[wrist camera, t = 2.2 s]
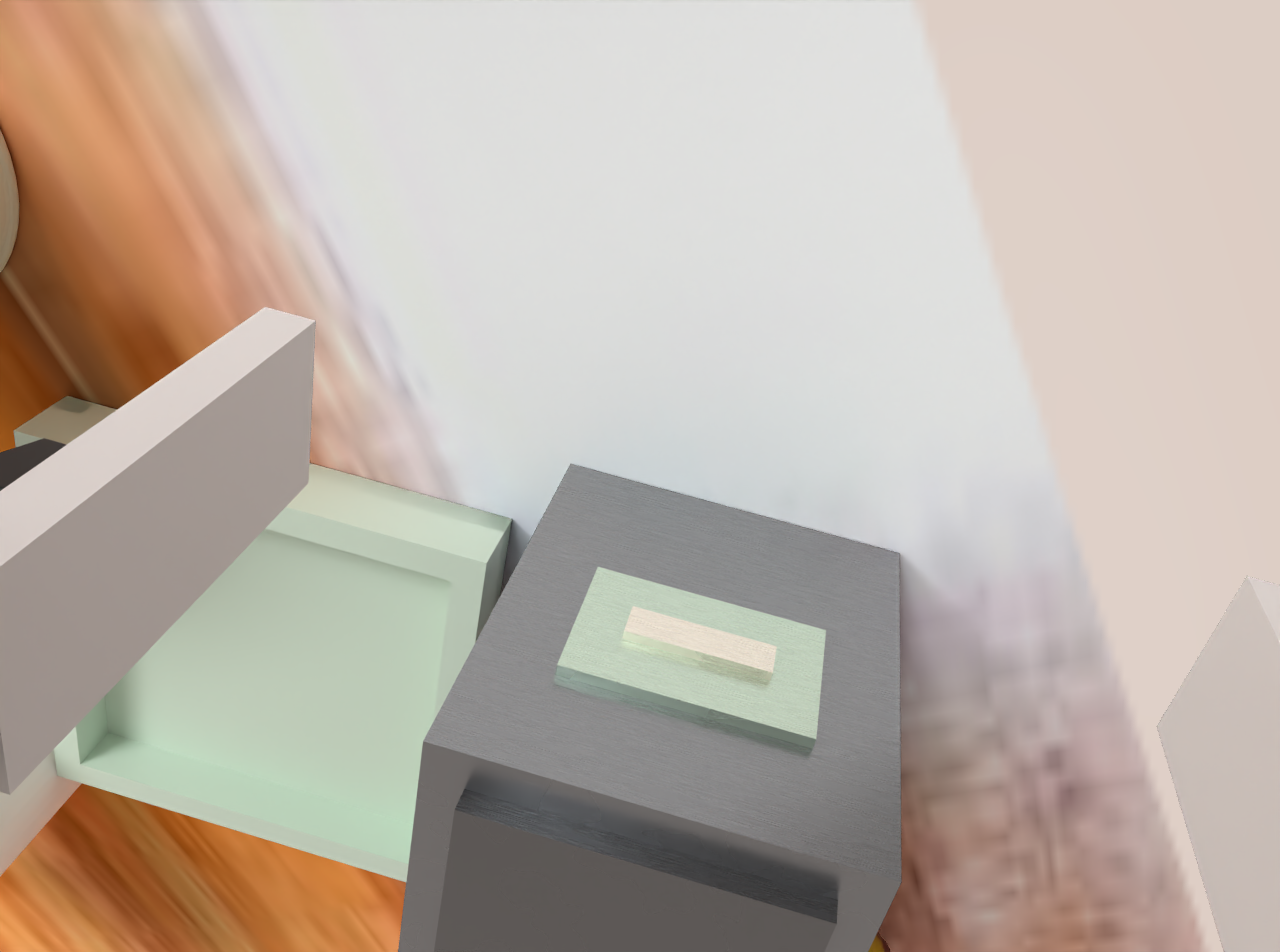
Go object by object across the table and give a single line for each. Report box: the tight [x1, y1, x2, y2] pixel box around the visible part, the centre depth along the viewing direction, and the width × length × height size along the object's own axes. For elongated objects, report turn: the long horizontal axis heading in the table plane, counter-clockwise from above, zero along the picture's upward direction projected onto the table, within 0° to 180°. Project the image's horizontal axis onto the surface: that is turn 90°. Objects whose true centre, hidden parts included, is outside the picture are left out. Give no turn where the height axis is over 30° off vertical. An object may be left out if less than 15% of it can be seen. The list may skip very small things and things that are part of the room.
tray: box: [14, 396, 512, 882], centre depth 38 cm, size 15×15×2 cm
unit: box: [398, 464, 901, 952], centre depth 30 cm, size 12×10×13 cm
